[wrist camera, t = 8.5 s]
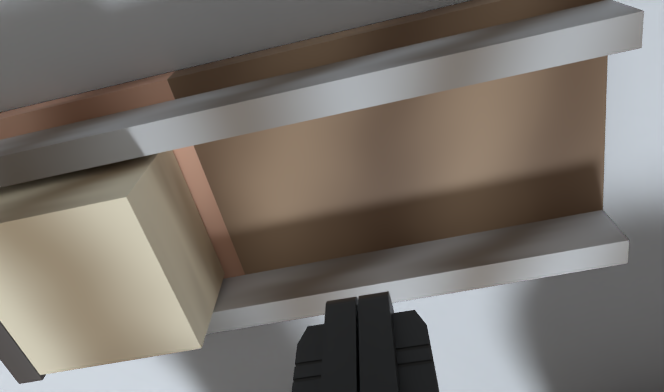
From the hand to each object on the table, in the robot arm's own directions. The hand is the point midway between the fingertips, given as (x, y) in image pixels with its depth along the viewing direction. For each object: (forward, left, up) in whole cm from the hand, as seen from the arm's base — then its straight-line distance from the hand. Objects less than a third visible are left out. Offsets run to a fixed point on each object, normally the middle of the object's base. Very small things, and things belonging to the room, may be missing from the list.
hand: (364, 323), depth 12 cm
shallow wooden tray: (+2, 0, -8) cm, 9 cm away
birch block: (+9, 0, -7) cm, 12 cm away
